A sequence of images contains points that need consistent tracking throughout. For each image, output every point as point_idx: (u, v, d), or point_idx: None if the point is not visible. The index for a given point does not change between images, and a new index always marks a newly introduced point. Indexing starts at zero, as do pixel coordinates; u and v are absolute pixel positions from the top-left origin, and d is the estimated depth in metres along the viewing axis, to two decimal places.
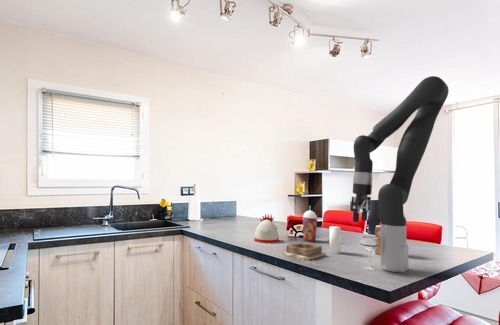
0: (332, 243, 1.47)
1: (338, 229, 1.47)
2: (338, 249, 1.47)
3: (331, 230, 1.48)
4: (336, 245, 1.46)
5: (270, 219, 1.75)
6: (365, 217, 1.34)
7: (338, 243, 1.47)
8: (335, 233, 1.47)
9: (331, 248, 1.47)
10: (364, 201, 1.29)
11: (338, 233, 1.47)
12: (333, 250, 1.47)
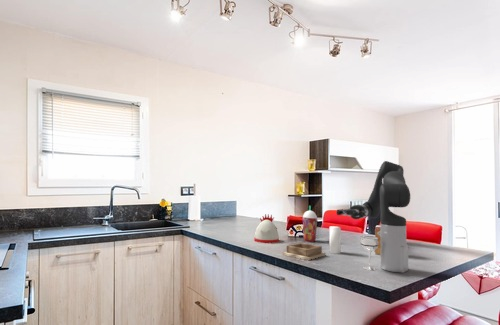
0: (332, 243, 1.47)
1: (338, 229, 1.47)
2: (338, 249, 1.47)
3: (331, 230, 1.48)
4: (336, 245, 1.46)
5: (270, 219, 1.75)
6: None
7: (338, 243, 1.47)
8: (335, 233, 1.47)
9: (331, 248, 1.47)
10: (350, 208, 1.66)
11: (338, 233, 1.47)
12: (333, 250, 1.47)
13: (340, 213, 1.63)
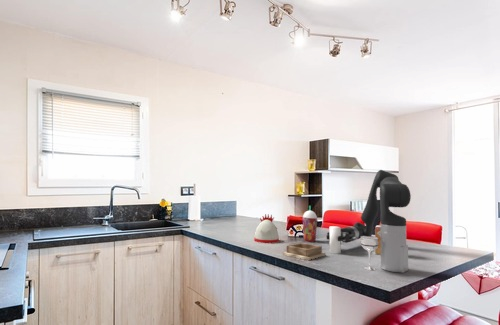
0: (332, 243, 1.47)
1: (338, 229, 1.47)
2: (338, 249, 1.47)
3: (331, 230, 1.48)
4: (336, 245, 1.46)
5: (270, 219, 1.75)
6: None
7: (338, 243, 1.47)
8: (335, 233, 1.47)
9: (331, 248, 1.47)
10: None
11: (338, 233, 1.47)
12: (333, 250, 1.47)
13: None
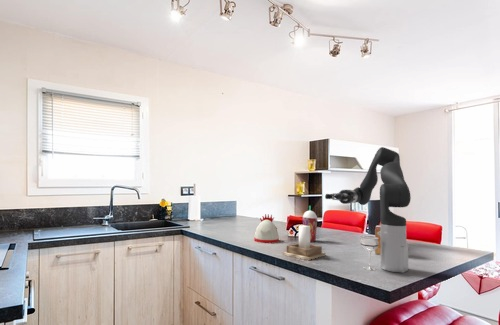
0: (301, 243, 1.40)
1: (307, 228, 1.40)
2: None
3: (300, 229, 1.41)
4: (305, 245, 1.40)
5: (270, 219, 1.75)
6: None
7: (307, 243, 1.40)
8: (304, 232, 1.40)
9: None
10: (339, 193, 1.65)
11: (307, 232, 1.40)
12: None
13: (329, 197, 1.62)
